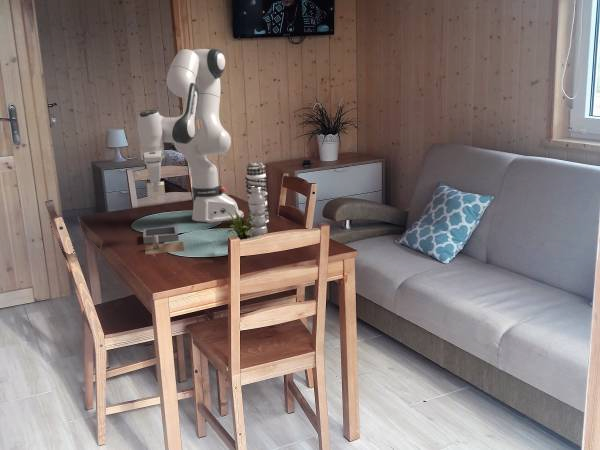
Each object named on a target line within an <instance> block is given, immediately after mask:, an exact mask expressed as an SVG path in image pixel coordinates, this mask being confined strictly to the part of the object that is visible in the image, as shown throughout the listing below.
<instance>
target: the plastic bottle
mask: <svg viewBox="0 0 600 450" xmlns="http://www.w3.org/2000/svg"><path fill="white" fill-rule="evenodd" d="M251 192H252V194H251V196H250V197H249V196H248V200H247V202H248V203H247V204H248V206H249V207H250V212H249V213H251V219H252V218H253V217H254V216H255V215H257V214H258V215H257V216H255V217H254V219H253V220H252V221H251V223H250V226H254V227H252V228H250V230H249V233H250V235H252V238H253V237H254V236H258V235H262V234H266V233H267V234H268V227H267V223H266V221H265V198H264V197H263V195H262V194H261V187H260V186H253V187H251ZM254 228H256V229H254ZM252 229H254V230H252ZM251 230H252V231H251ZM250 231H251V232H250Z"/></svg>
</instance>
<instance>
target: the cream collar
mask: <svg viewBox="0 0 600 450" xmlns="http://www.w3.org/2000/svg"><path fill="white" fill-rule="evenodd" d="M146 189H147V190H146V191H147V197H155V196H156V197H157V196H165V195H166V191H165V190H166V189H165V181H160V182H158V189H159V191H158V192H154V188H153V183H152V182H146Z"/></svg>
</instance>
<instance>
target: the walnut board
mask: <svg viewBox="0 0 600 450" xmlns="http://www.w3.org/2000/svg"><path fill="white" fill-rule="evenodd" d="M152 238H153V243H152V244H144V247H145V249H144V250H145V251H144V252H145V253H144V255H146V256H148V255H154V254H156V255H157V254H164V253H165V254H166V253H173V252H182V251H185V245H184V241H178V242H177V241H174V242H164V243H160V242H158V235H153V236H152Z"/></svg>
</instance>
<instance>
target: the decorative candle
mask: <svg viewBox="0 0 600 450" xmlns="http://www.w3.org/2000/svg"><path fill="white" fill-rule="evenodd" d="M265 167H266V165H264V164H263V163H262V162H260V161H258V162H257V161H255V162H249V163H248V164H247V165H246V167H245V168H246V176H245V177H244V179H245V180H246V181H245V184H246V186H245V188H246V193H247V194H246V195H247V196H248V198H249V197H250V196H251V194H252V192H251V187H253V186H260V187H261V194H262V195H263V197H264V198H265V221H266V224H267V223H269V221H270V220H269V219H270V218H269V208H268V207H269V205H268V200H267V195H268V192H267V191H268V188H267V187H268V184H266V183H267V182H268V180H267V179H268V176H267V175H266V168H265ZM247 208H248V210H247V211H248V212H249V213H248V216H249V214H250V217H249V220H248V223H249V222H250V221H251V213H250V207H249V205H248V206H247ZM250 224H251V222H250Z"/></svg>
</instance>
